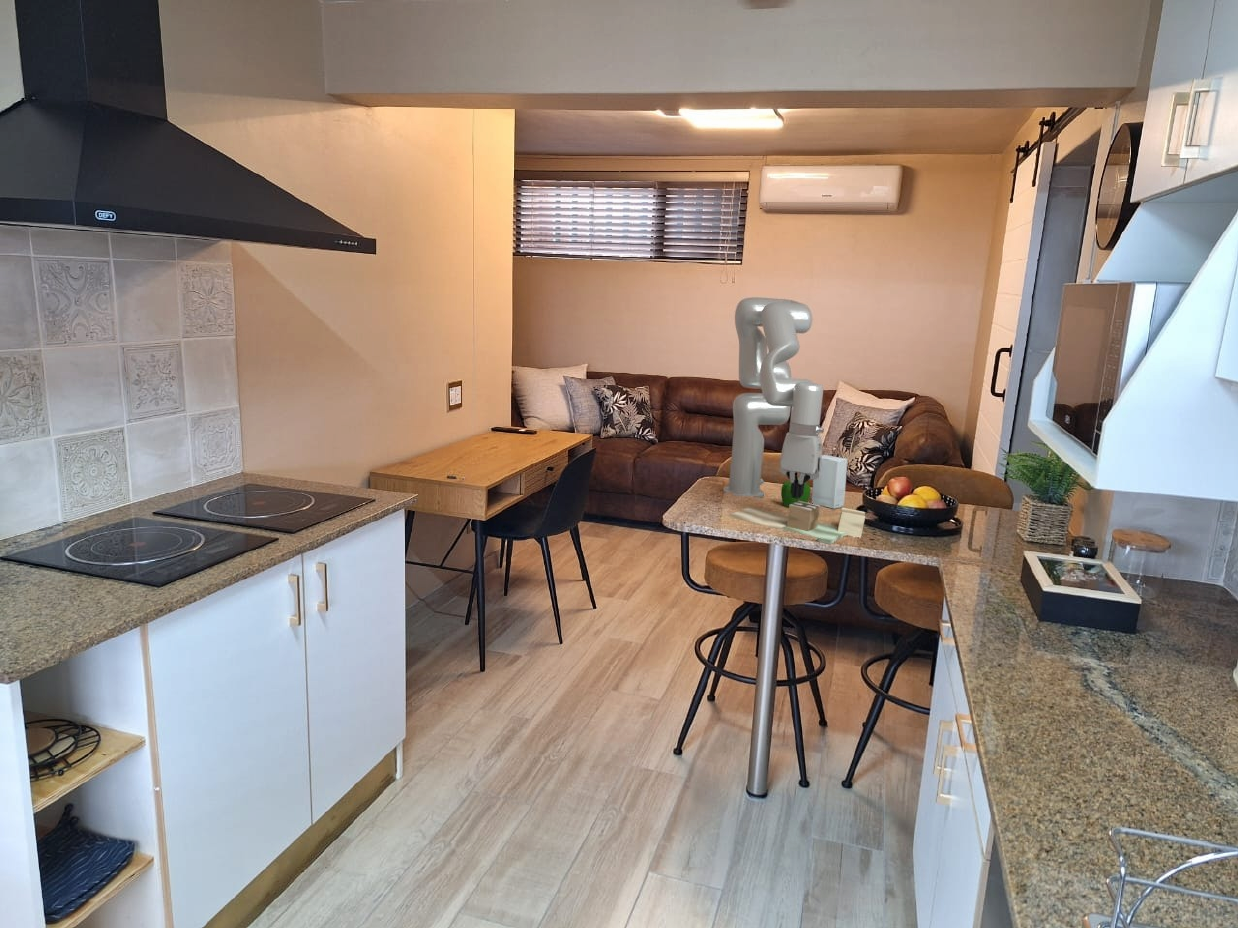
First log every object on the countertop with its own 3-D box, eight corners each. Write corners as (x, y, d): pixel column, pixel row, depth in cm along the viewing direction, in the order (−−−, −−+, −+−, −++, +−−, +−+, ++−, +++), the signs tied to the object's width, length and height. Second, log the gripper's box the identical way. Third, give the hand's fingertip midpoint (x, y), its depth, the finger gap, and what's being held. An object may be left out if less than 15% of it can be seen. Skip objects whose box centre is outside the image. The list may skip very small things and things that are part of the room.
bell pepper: (775, 509, 238) (779, 476, 236) (784, 504, 245) (787, 471, 243) (804, 515, 234) (807, 481, 232) (811, 509, 241) (815, 476, 239)
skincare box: (844, 506, 246) (850, 458, 243) (833, 509, 242) (839, 460, 239) (820, 500, 252) (825, 453, 249) (809, 503, 248) (814, 455, 245)
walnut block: (819, 505, 217) (817, 527, 218) (798, 500, 221) (796, 522, 222) (810, 509, 212) (808, 531, 214) (789, 504, 216) (787, 526, 217)
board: (748, 510, 235) (748, 506, 235) (849, 533, 218) (850, 529, 218) (725, 519, 224) (726, 516, 224) (830, 544, 207) (830, 540, 207)
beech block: (837, 528, 222) (841, 507, 220) (860, 533, 220) (864, 512, 219) (837, 534, 216) (841, 512, 215) (860, 538, 214) (865, 517, 213)
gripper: (836, 432, 213) (828, 500, 217) (783, 424, 221) (776, 489, 225) (825, 435, 207) (817, 505, 211) (771, 427, 215) (764, 494, 219)
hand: (796, 497), depth 218 cm, fingers closed
